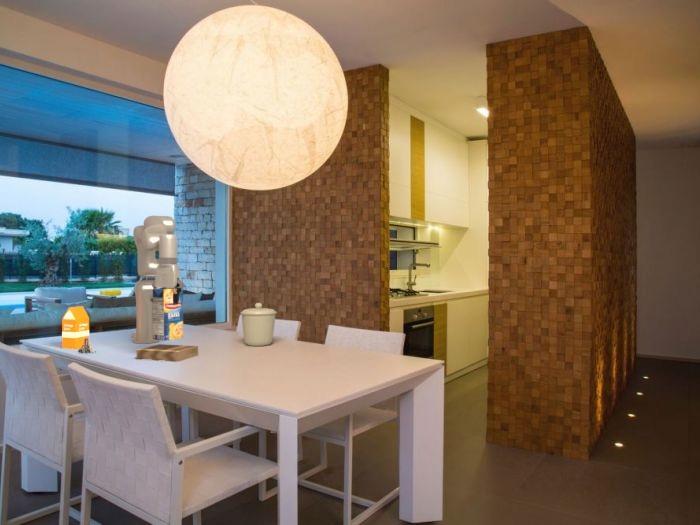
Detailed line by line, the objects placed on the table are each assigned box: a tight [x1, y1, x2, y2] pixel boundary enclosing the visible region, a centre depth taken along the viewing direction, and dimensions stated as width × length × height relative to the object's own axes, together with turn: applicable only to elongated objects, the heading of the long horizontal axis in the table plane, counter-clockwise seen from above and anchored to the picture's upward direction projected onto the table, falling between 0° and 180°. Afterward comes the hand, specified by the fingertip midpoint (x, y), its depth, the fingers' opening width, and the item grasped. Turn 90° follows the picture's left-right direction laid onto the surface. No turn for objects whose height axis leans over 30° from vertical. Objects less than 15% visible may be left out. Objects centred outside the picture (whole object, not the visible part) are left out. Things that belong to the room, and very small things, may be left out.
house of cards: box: [77, 337, 97, 354], centre depth 244 cm, size 9×9×8 cm
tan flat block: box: [136, 344, 199, 362], centre depth 238 cm, size 20×16×4 cm
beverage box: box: [152, 288, 184, 342], centre depth 238 cm, size 7×11×22 cm, turn 151°
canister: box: [240, 302, 277, 347], centre depth 273 cm, size 18×18×21 cm
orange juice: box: [61, 305, 90, 350], centre depth 260 cm, size 8×9×20 cm
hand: (168, 302), depth 238 cm, fingers closed on beverage box, 7 cm apart
